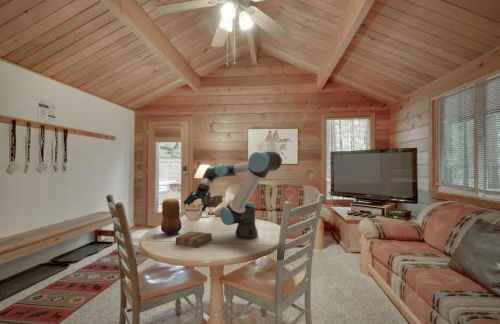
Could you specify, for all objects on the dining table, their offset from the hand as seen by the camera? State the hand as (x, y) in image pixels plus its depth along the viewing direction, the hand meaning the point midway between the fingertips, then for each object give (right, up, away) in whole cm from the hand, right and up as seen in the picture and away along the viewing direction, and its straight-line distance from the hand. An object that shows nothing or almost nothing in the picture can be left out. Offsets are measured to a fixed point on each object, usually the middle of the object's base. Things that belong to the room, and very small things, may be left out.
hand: (191, 214), depth 160 cm
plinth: (+1, -18, +3) cm, 18 cm away
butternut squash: (-18, -18, +19) cm, 32 cm away
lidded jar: (+1, -4, +3) cm, 5 cm away
